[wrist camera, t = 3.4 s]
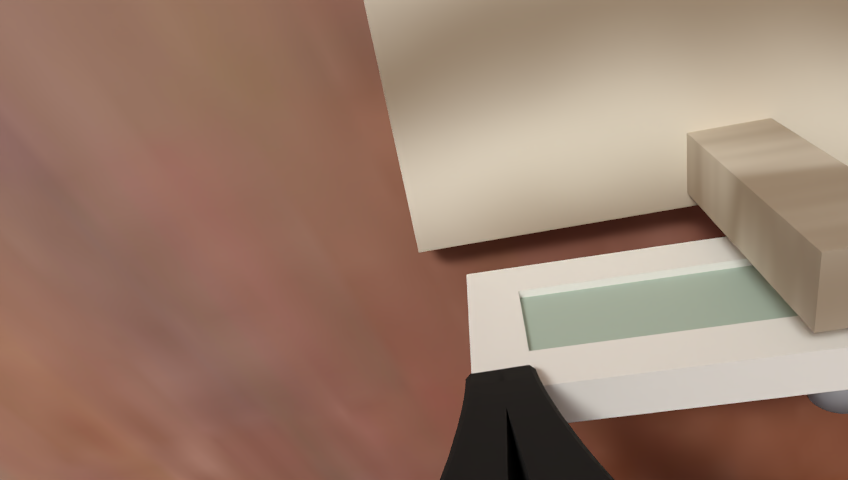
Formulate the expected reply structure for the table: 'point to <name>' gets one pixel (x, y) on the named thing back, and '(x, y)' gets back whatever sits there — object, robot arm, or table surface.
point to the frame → (653, 332)
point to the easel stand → (628, 123)
